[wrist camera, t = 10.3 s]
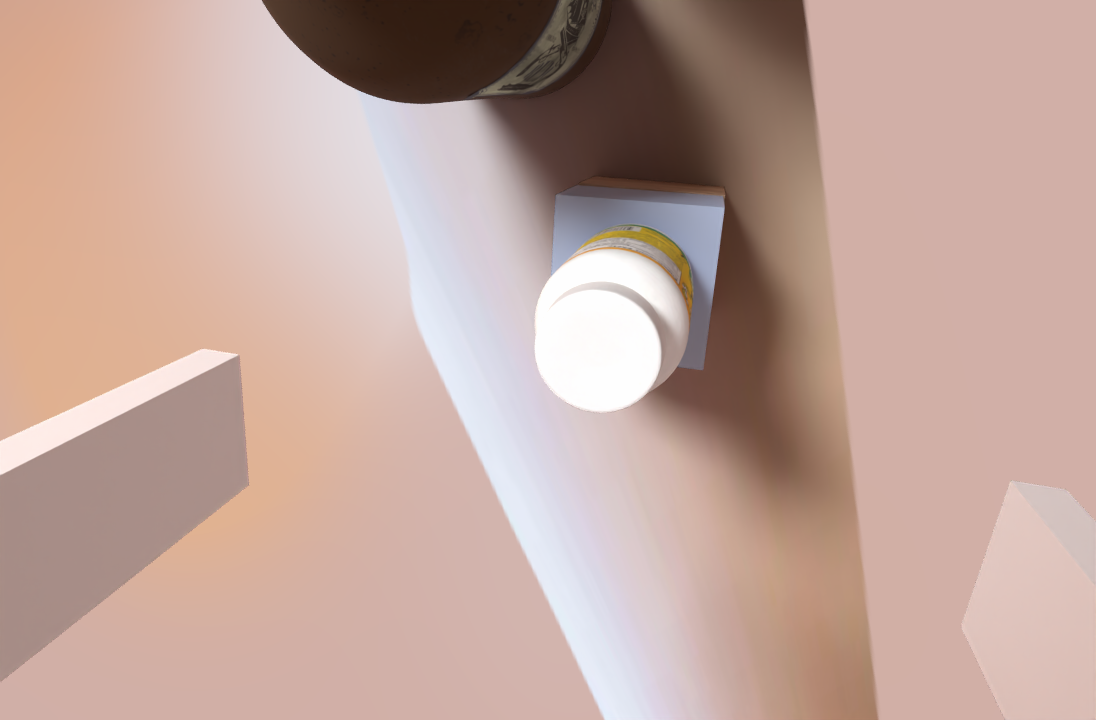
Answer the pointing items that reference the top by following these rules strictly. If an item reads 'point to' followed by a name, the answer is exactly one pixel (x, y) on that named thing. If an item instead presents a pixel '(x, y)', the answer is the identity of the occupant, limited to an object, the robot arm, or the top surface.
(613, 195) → the slate block
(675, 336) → the supplement bottle
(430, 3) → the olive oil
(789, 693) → the top surface
